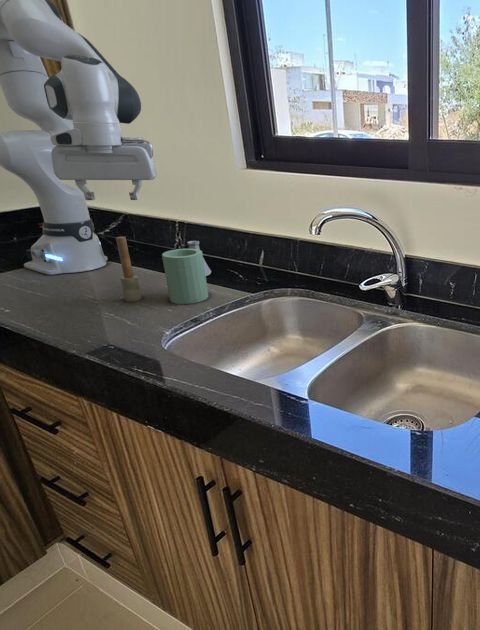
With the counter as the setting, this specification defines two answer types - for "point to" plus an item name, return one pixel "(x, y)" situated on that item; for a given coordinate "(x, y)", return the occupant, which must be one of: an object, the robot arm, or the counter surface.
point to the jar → (185, 275)
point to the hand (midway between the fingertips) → (113, 199)
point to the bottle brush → (128, 273)
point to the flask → (207, 271)
